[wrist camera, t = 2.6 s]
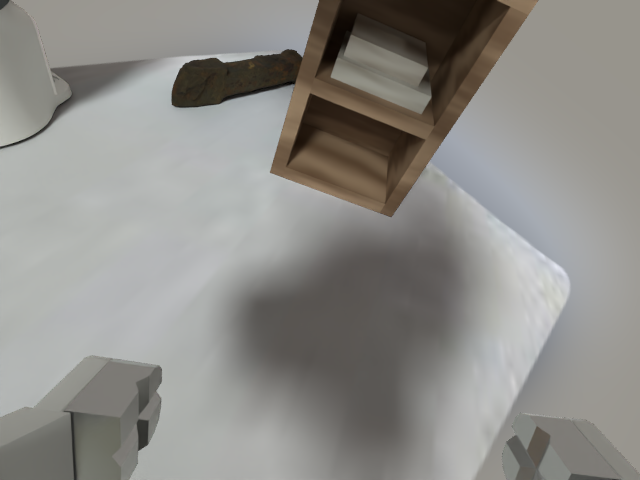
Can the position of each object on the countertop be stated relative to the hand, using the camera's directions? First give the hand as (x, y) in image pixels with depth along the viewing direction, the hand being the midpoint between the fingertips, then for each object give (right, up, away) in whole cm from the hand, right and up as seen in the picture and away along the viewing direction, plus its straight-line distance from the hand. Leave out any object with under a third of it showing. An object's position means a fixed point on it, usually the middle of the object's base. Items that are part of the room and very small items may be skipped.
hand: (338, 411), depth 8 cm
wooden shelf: (+2, +14, +41) cm, 43 cm away
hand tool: (-12, +25, +46) cm, 53 cm away
